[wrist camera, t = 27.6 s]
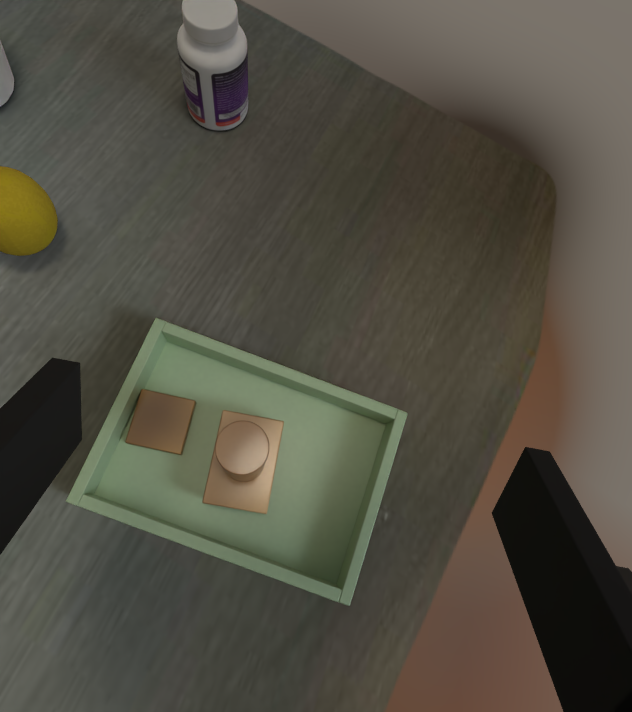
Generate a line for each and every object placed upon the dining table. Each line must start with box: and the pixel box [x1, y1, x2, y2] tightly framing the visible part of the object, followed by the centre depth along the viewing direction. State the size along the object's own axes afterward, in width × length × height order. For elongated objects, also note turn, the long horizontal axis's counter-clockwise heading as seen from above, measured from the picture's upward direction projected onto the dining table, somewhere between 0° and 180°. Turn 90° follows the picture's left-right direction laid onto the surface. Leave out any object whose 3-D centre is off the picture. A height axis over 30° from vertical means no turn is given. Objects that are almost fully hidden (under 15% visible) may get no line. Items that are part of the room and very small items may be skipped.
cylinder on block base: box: [202, 410, 284, 514], centre depth 32 cm, size 4×6×11 cm
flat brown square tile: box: [125, 389, 196, 455], centre depth 37 cm, size 4×4×1 cm
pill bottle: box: [177, 0, 248, 130], centre depth 41 cm, size 5×5×10 cm
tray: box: [66, 318, 407, 606], centre depth 36 cm, size 20×14×3 cm
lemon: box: [0, 166, 58, 256], centre depth 37 cm, size 6×6×8 cm
